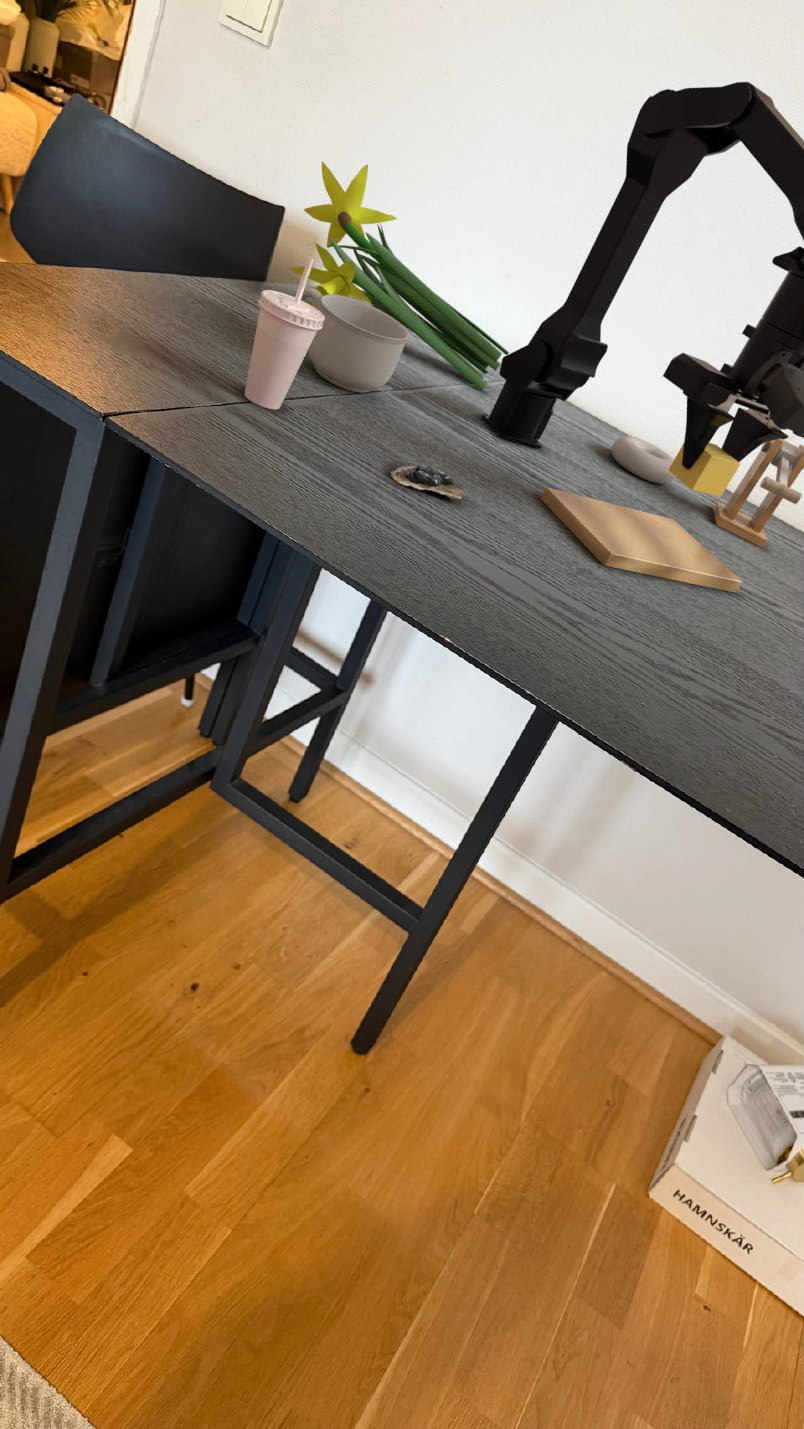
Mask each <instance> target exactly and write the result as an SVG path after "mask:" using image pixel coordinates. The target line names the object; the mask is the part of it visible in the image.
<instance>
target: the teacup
mask: <svg viewBox="0 0 804 1429" xmlns="http://www.w3.org/2000/svg"><path fill="white" fill-rule="evenodd" d="M307 298H311V299H312V300H313V301H314V302H315V306H316V309H317V310H319V311H320V312H321V313H322V314H323V315H324V317H325V319H324V322H323V325H322V329H320V330H317V332H316V334H315V336H314V338H313V341H312V343H311V345H310V347H309V349H308V351H307V354H308V356H309V359H310V360H311V363H312V364H313V365H314V369H315V371H316V372H317V373H318V374H319V376H320V377H322V378H323V379H325V380H326V381H328V382H329V383H331V384H332V385H334V386H337V387H339V388H341V389H344V390H346V391H350V392H354V393H361V394H363V393H368V392H370V391H372V390H375V389H379V388H381V387H383V386H384V385H386V384H387V383H388V382H389V380H390V379H391V378H392V375H393V374H394V372H395V369H396V367H397V365H398V363H399V361H400V358H401V356H402V354H403V350H404V348H405V346H406V342H408V340H409V339H410V333H409V331H408V329H407V328H406V327H405V326H403V325H402V324H401V323H399V322H398V321H397V320H395V319H394V318H392V317H391V316H389V315H388V314H386V313H384V312H382V311H381V310H379V309H376V308H374V307H372V306H373V305H372V306H370V305H371V304H369V303H365V302H364V301H362V300H359V299H356V298H353V297H350V296H349V297H345V296H340V295H331V294H329V295H323V296H322V295H321V293H320V292H319V291H317V290H316V289H315V288H313V287H305V288H304V291H303V294H302V297H301V300H302V301H304V302H305V299H307Z"/></svg>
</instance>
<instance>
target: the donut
mask: <svg viewBox="0 0 804 1429" xmlns="http://www.w3.org/2000/svg"><path fill="white" fill-rule="evenodd" d="M611 454H612V457H613V459H614V460H615V462H616V463H617V464H618V465H619V466H621V467H622V468H623V469H625V470H626V471H628V472H629V473H631V474H633V475H635V476H637V477H639V478H640V479H643V480H644V481H648V482H651V483H653V484H659V485H666V484H669V483H671V482H673V481H674V480H675V479H676V478H677V477H676V476H675V475H673V474H672V473H671V472H670V471H669V468H670V466H671V465H672V463H673V461H674V459H675V458H674V457H672V456H671V455H670V454H669V453H668V452H666V451H665V450H663V449H661V448H660V447H659V446H657V445H655V444H653V443H651V442H649V441H646V440H644V439H641V438H639V437H637V436H632V435H623V436H619V437H618V438H616V439H615V441H614V443H613V444H612V446H611Z"/></svg>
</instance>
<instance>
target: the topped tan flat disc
mask: <svg viewBox="0 0 804 1429" xmlns="http://www.w3.org/2000/svg"><path fill="white" fill-rule="evenodd" d="M390 477H391V478H392V479H393V480H394V481H396V483H398V484H401V485H403V486H407V487H408V486H410V487H412V488H413V489H417V490H419V491H421V490H422V491H425V490H427V491H432V492H435V493H437V494H440V495H444V496H446V497H447V498H448V499H449V498H450V499H451V500H455V501H461V500H462V499H463V498H464V494H465V493H466V490H465V488H464V487H461V486H462V485H460V484H459V482H456V481H454V478H453V476H451V475H449V474H446V473H445V472H443V471H442V470H440V469H436V467H435V466H434V465H428V466H426V464H417V465H405V466H404V465H401V466H397V467H396V469H394V470H393V471H390Z"/></svg>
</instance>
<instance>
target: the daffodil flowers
mask: <svg viewBox="0 0 804 1429" xmlns="http://www.w3.org/2000/svg"><path fill="white" fill-rule="evenodd" d="M368 170H369V165H368V164H367V163H366V164H365V165H363V167H361V168H360V170H359V171H358V172H357V174H356V175H355V176H354V177H353V179H352V180H351V181H350V183H349V185H348V186H347V188H346V190H345V189H344V188H343V187H342V185H341V183H340V182H339V181H338V179H337V178H336V177H335V175H334V174H333V172H332V171H331V170H330V168H329V167H328V166H327V165H326V163H325V162H324V161H321V177H322V181H323V185H324V188H325V191H326V193H327V196H328V197H329V199H330V202H331V203H328V204H326V203H325V204H319V205H314V206H309V207H306V208H303V211H304V212H305V213H306V214H307V215H309V216H310V217H311V218H312V219H315V220H317V221H319V222H322V223H329V224H330V226H329V229H328V234H327V240H326V248H327V249H330V248H333V249H334V251H335V253H336V255H337V256H338V257H339V259H340V260H341V261H342V264H340V265H338V263H337V262H336V260H335V258H334V256H333V255H332V254H331V253H330V251H328V250H327V249H326V248H324V247H323V246H321V245H320V244H318V243H317V242H315V243H314V244H315V248H316V251H317V253H318V256H319V257H320V260H321V262H322V264H323V267H324V269H325V270H323V269H319V268H316V267H311V270H310V273H309V276H308V279H309V280H311V281H313V282H316V283H318V284H320V285H317V286H315V288H314V289H316V290H317V291H319V292H320V293H321V295H322V296H323V295H329V294H331V295H340V296H345V297H349V298H350V297H351V298H353V299H356V300H359V301H362V302H367V304H369V305H370V306H372V307H374V308H376V309H379V310H381V311H382V312H384V313H386V314H388V315H389V316H391V317H392V318H394V319H395V320H397V321H398V322H399V323H401V324H402V325H403V326H404V327H405V328H406V329H407V330H409V331H411V332H412V333H413V334H415V336H417V337H418V338H419V339H420V340H422V341H423V342H424V343H425V344H426V345H427V346H429V347H430V348H431V349H432V350H433V351H435V352H436V353H437V354H438V355H439V356H440V357H442V358H443V359H444V360H445V361H446V362H447V363H449V364H450V365H451V366H452V367H453V368H455V370H457V371H458V372H459V373H460V374H461V375H462V376H463V377H464V378H466V379H467V380H468V381H469V382H470V383H472V384H473V385H474V386H475V387H476V388H478V389H479V390H480V391H481V392H483V390H484V389H485V387H486V386H487V384H488V382H487V381H486V380H484V375H487V374H488V372H489V371H488V370H487V368H488V367H490V368H491V369H492V370H494V372H495V371H497V370H498V368H499V367H501V362H499V359H500V358H501V356H502V355H503V354H504V355H505V356H506V355H508V354H510V351H508V350H507V349H506V348H505V347H504V346H502V345H501V344H500V343H499V342H498V341H496V340H495V339H494V338H492V337H491V336H490V335H489V334H488V333H487V332H485V331H484V330H483V329H481V328H480V327H479V325H477V324H475V323H474V322H473V321H471V320H470V319H469V318H467V317H466V316H465V315H464V314H462V312H460V311H459V310H458V309H456V308H455V307H454V306H452V305H451V304H449V303H448V302H447V301H446V300H445V299H443V298H442V297H440V295H438V294H437V293H436V292H434V291H433V290H432V289H431V288H430V287H429V286H427V284H425V282H423V281H422V280H421V279H420V278H419V277H418V276H417V275H416V274H415V273H414V272H412V271H411V270H410V269H409V268H408V267H407V266H406V265H405V264H404V263H403V262H402V261H401V260H399V259H398V258H397V257H396V255H395V254H394V252H393V251H392V249H391V248H390V246H389V244H388V242H387V240H386V236H385V233H384V232H385V231H384V229H383V226H382V223H385V222H391V221H396V220H397V217H396V216H394V215H393V214H387V213H384V212H381V211H379V210H375V209H371V208H368V207H366V206H365V207H363V206H362V204H363V201H364V197H365V191H366V186H367V180H368ZM371 224H376V225H377V229H378V230H377V231H378V233H379V234H378V235H379V238H380V241H381V242H380V241H379V240H377V239H376V238H375V237H374V236H372V235H371V234H370V233H368V232H364V229H363V226H362V225H371ZM379 224H380V225H379ZM346 235H347V237H349V238H350V239H351V241H353V243H355V244H356V246H354V245H346V244H342V245H341V244H340V245H339V243H341V241H342V240H343V239H344V238H345V237H346ZM366 237H367V238H366ZM343 249H349V250H352V251H353V253H354V256H355V258H356V261H357V262H358V264H357V263H355V262H354V260H352V258H351V257H350V256H349V255H348V254H347V252H345V251H344V250H343ZM358 251H359V252H363V253H364V254H366V255H369V256H370V257H371V258H370V257H368V256H366V255H364V254H361V253H359V252H358ZM369 266H370V267H371V268H373V270H374V271H375V273H376V274H377V276H378V277H379V278H378V277H377V276H376V275H375V273H374V272H373V270H371V268H370V267H369ZM289 269H290V271H292V272H293V273H295V274H297V275H299V276H300V277H302V275H303V272H304V269H305V266H302V265H301V266H296V267H291V268H289ZM308 279H307V280H308ZM311 306H313V307H314V308H316V306H315V302H314V300H313V301H312V305H311ZM410 306H411V307H410ZM412 308H413V309H412ZM418 313H419V314H418ZM479 371H480V372H481V373H482V374H483V375H482V374H481V373H480V372H479Z"/></svg>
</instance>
